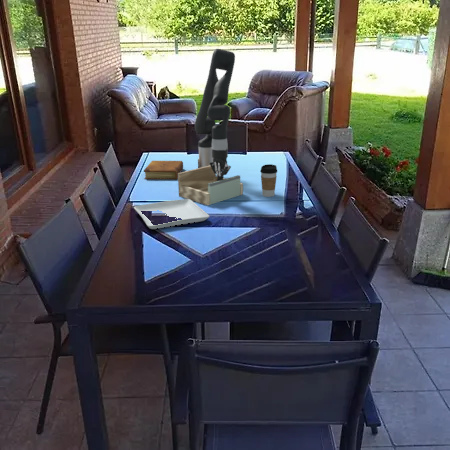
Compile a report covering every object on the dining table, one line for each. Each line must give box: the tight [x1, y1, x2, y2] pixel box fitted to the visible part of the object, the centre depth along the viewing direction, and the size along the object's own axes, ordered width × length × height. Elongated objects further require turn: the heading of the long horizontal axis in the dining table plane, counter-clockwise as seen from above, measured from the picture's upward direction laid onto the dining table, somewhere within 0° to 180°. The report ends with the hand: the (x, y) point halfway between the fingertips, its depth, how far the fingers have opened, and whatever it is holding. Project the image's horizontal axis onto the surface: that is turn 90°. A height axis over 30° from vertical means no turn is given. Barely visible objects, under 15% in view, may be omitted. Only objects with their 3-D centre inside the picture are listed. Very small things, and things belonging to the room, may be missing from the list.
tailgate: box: [208, 175, 241, 205], centre depth 242 cm, size 2×20×10 cm, turn 134°
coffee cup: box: [260, 163, 278, 198], centre depth 247 cm, size 8×8×15 cm
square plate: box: [133, 198, 210, 230], centre depth 221 cm, size 27×27×4 cm
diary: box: [143, 160, 184, 180], centre depth 290 cm, size 23×19×6 cm
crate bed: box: [177, 166, 244, 206], centre depth 248 cm, size 22×24×12 cm
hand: (220, 182), depth 243 cm, fingers closed
